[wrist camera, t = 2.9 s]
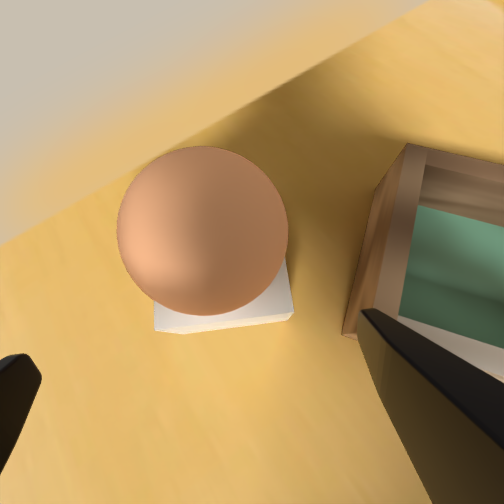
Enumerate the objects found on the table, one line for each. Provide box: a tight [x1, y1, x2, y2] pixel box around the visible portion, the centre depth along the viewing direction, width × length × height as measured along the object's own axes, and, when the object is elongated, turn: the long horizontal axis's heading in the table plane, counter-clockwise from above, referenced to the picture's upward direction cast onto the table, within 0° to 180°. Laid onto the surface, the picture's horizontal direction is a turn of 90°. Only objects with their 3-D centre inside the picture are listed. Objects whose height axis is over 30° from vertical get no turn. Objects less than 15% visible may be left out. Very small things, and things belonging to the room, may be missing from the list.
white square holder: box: [154, 257, 294, 334], centre depth 17 cm, size 7×7×5 cm
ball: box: [117, 146, 288, 316], centre depth 12 cm, size 7×7×7 cm
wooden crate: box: [341, 143, 504, 383], centre depth 16 cm, size 11×12×5 cm
